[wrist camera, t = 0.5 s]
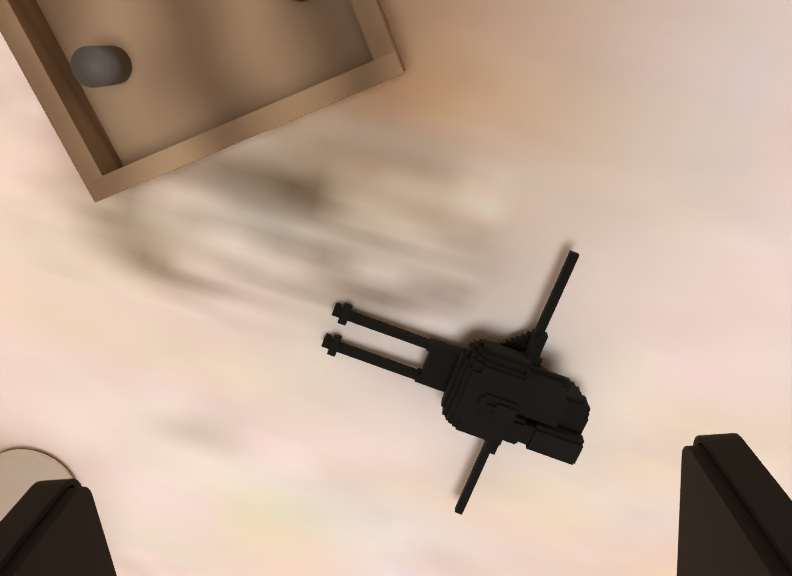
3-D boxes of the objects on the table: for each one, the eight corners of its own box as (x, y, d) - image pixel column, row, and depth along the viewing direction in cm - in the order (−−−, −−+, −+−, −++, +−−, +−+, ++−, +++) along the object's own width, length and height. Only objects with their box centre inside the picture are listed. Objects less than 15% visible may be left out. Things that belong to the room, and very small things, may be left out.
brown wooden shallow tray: (304, -196, 30) (290, -224, 27) (405, 70, 34) (403, 73, 31) (0, -44, 33) (-47, -54, 30) (124, 187, 36) (94, 202, 33)
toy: (294, 434, 43) (522, 516, 43) (274, 477, 38) (528, 568, 38) (380, 176, 37) (643, 270, 37) (368, 191, 33) (666, 298, 33)
